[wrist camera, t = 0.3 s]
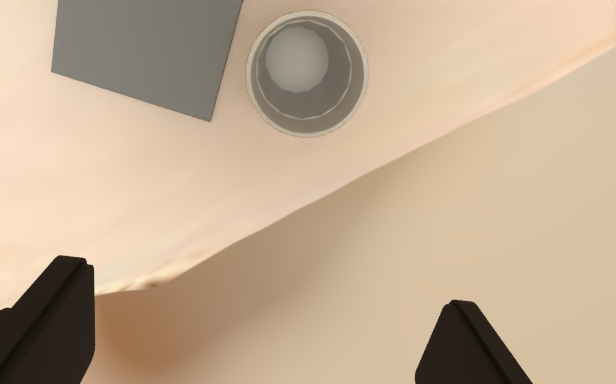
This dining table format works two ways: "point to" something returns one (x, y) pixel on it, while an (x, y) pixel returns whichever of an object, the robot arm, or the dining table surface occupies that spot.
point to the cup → (307, 74)
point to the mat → (148, 48)
